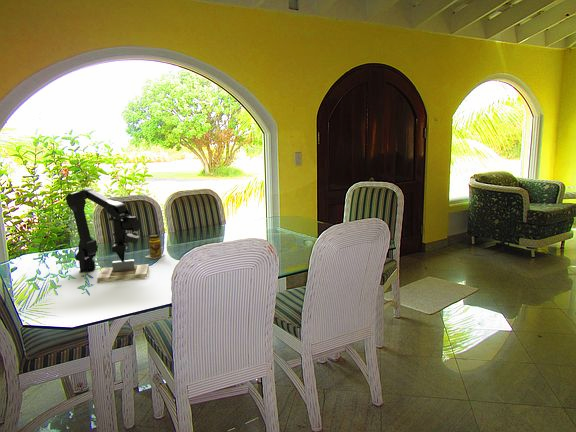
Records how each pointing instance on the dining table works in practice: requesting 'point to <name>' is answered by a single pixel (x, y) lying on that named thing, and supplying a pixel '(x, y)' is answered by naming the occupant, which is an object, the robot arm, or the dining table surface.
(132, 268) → the panel
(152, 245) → the condiment
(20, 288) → the dining table surface
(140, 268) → the rack
